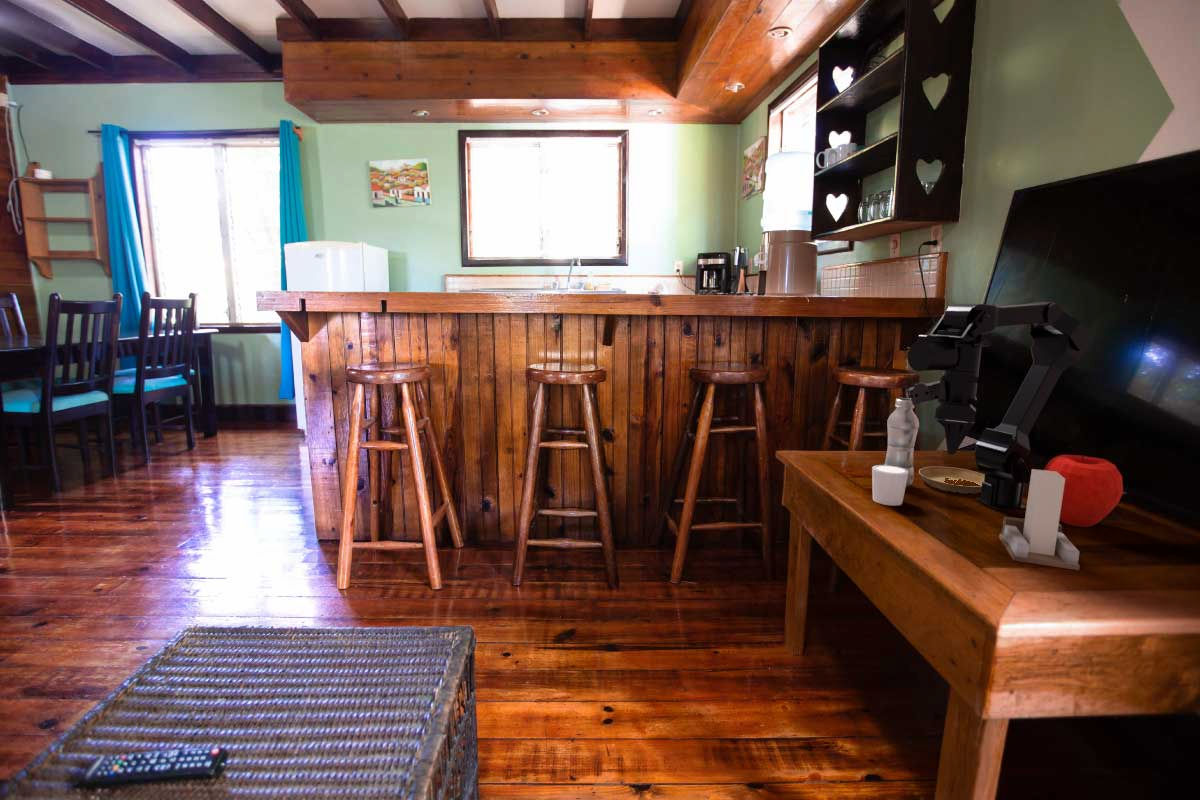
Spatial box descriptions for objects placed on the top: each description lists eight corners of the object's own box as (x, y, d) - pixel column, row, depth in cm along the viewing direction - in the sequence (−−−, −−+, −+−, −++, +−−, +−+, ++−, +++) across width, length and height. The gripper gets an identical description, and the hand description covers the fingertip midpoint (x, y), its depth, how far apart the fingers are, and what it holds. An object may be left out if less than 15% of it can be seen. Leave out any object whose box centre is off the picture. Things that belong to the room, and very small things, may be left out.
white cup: (862, 497, 123) (864, 466, 122) (886, 493, 125) (889, 463, 124) (888, 508, 117) (891, 475, 115) (913, 504, 119) (916, 471, 118)
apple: (1095, 515, 113) (1105, 449, 111) (1132, 538, 102) (1144, 466, 100) (1026, 509, 116) (1034, 445, 114) (1054, 531, 105) (1064, 461, 103)
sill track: (999, 537, 102) (1001, 516, 102) (1058, 545, 99) (1061, 523, 98) (1013, 560, 93) (1016, 537, 93) (1079, 570, 90) (1082, 546, 89)
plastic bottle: (902, 480, 135) (910, 396, 131) (919, 489, 128) (928, 401, 125) (875, 480, 135) (882, 396, 131) (891, 490, 128) (899, 401, 124)
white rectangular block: (1021, 541, 98) (1031, 469, 96) (1046, 545, 97) (1056, 471, 95) (1028, 552, 95) (1039, 476, 92) (1053, 555, 93) (1065, 478, 91)
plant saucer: (1006, 499, 123) (1008, 487, 122) (932, 495, 125) (933, 484, 125) (973, 478, 137) (975, 467, 137) (908, 475, 139) (908, 465, 139)
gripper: (917, 363, 122) (910, 434, 124) (908, 372, 106) (900, 453, 109) (980, 366, 116) (971, 441, 118) (980, 376, 100) (969, 462, 103)
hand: (952, 449), depth 112 cm, fingers open, 9 cm apart
